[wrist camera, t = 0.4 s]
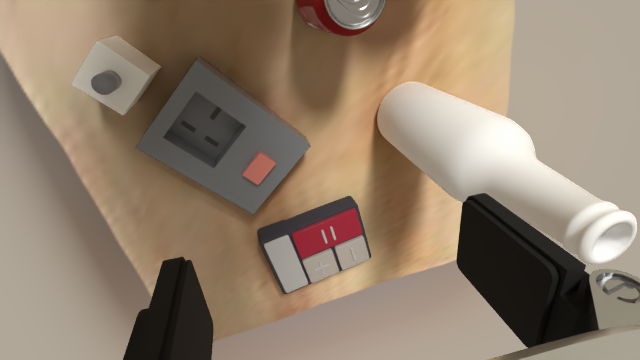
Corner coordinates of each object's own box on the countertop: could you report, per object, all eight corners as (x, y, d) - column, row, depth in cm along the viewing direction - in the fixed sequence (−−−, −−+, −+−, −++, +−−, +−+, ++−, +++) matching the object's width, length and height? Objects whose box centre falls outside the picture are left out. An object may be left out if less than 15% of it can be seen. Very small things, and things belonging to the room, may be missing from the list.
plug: (93, 73, 37) (59, 89, 30) (117, 35, 36) (87, 42, 29) (138, 101, 40) (116, 122, 32) (161, 66, 39) (144, 80, 31)
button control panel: (374, 260, 54) (284, 299, 52) (363, 244, 58) (280, 280, 56) (359, 205, 49) (259, 246, 47) (348, 191, 52) (256, 229, 51)
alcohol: (386, 73, 44) (602, 168, 18) (443, 87, 47) (703, 188, 21) (366, 137, 48) (524, 293, 22) (420, 147, 51) (620, 297, 24)
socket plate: (142, 137, 41) (133, 150, 38) (198, 56, 39) (195, 61, 35) (251, 201, 48) (253, 217, 45) (305, 136, 46) (311, 148, 42)
